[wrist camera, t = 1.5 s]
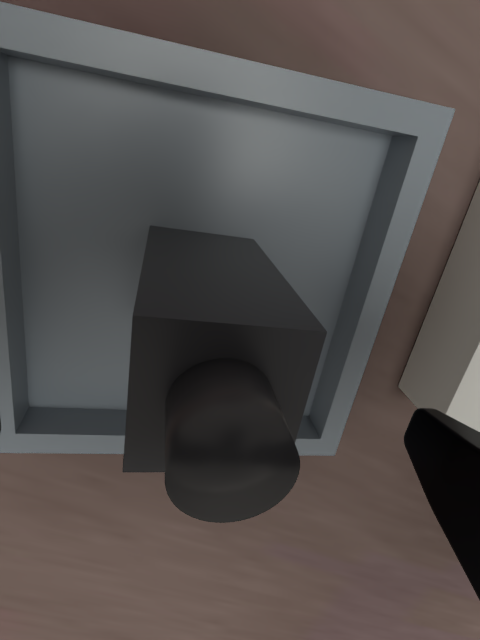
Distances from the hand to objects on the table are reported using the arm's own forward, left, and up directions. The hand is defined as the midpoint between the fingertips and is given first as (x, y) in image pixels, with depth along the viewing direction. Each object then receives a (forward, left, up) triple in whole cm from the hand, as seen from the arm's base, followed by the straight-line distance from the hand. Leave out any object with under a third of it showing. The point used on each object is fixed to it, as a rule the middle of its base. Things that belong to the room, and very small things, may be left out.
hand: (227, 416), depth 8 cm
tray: (0, 0, -9) cm, 9 cm away
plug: (0, 0, -8) cm, 8 cm away
